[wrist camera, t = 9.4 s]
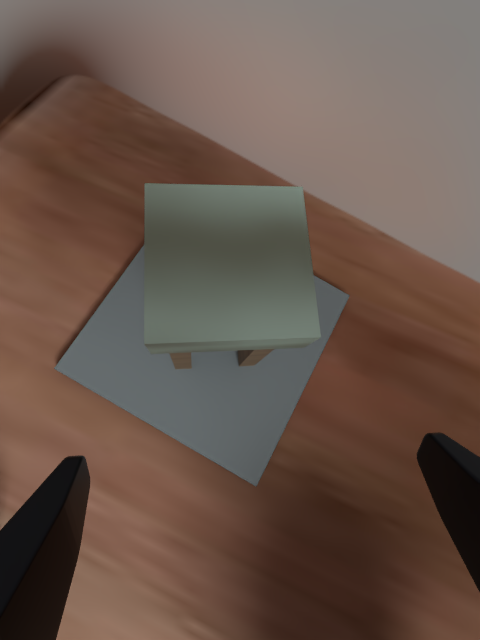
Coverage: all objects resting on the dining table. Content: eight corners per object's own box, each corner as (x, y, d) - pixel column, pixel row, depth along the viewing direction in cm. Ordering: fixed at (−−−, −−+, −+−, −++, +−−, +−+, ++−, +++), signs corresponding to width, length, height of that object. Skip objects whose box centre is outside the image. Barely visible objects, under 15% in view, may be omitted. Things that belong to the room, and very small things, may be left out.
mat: (254, 484, 22) (256, 486, 21) (57, 369, 22) (54, 368, 21) (346, 298, 26) (349, 295, 25) (178, 202, 26) (178, 197, 25)
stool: (262, 373, 23) (320, 337, 12) (167, 377, 22) (144, 343, 12) (255, 285, 24) (302, 186, 14) (166, 286, 24) (144, 183, 13)
